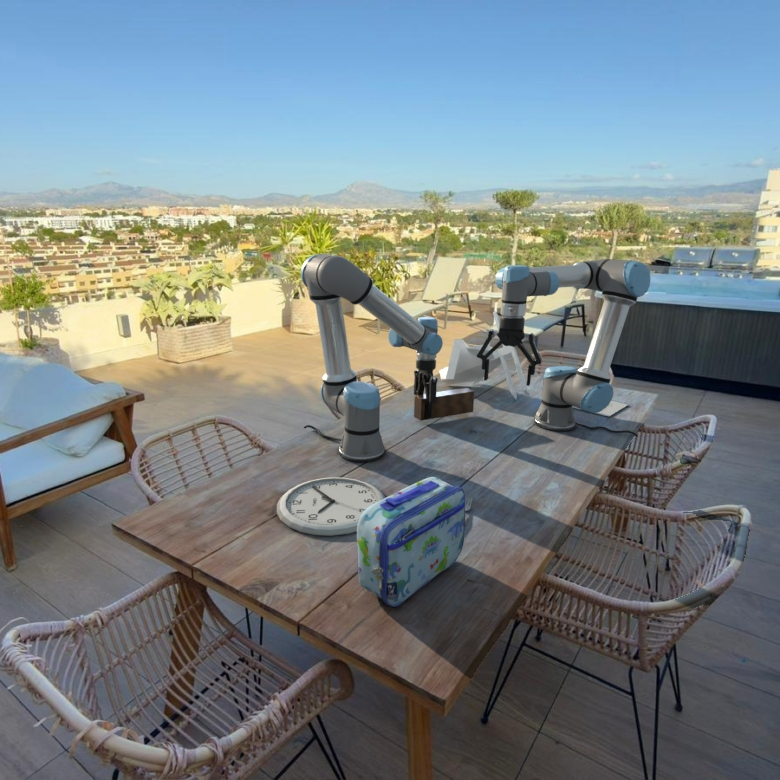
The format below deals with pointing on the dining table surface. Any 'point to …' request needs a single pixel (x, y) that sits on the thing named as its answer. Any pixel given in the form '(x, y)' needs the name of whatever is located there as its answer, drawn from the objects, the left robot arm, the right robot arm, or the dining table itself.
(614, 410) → the invitation card
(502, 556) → the dining table surface
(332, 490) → the wall clock
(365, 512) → the lunch box
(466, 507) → the fork
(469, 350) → the white plastic object
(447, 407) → the bar
